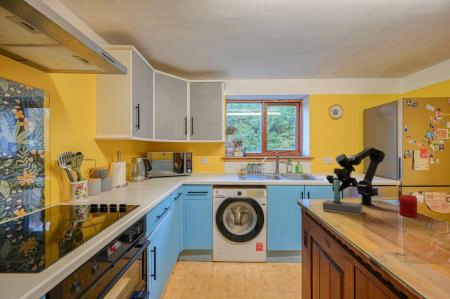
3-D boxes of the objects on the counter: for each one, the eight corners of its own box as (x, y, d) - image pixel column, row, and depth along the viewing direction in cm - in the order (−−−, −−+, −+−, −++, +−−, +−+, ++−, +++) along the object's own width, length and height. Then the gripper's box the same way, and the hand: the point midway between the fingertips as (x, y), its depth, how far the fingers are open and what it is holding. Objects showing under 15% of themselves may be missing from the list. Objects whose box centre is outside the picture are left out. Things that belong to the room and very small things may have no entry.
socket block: (327, 206, 154) (327, 199, 154) (362, 211, 141) (362, 204, 141) (322, 209, 146) (322, 202, 146) (359, 215, 134) (359, 207, 133)
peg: (338, 200, 148) (338, 180, 148) (341, 201, 144) (341, 180, 144) (332, 200, 148) (332, 180, 147) (336, 202, 144) (335, 181, 144)
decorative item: (398, 209, 145) (398, 193, 145) (417, 212, 139) (417, 195, 139) (397, 215, 133) (396, 197, 133) (417, 218, 128) (417, 199, 128)
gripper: (327, 162, 156) (316, 180, 150) (355, 164, 140) (344, 184, 134) (334, 173, 160) (324, 191, 154) (362, 176, 144) (352, 196, 138)
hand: (335, 191), depth 145 cm, fingers closed on peg, 4 cm apart
